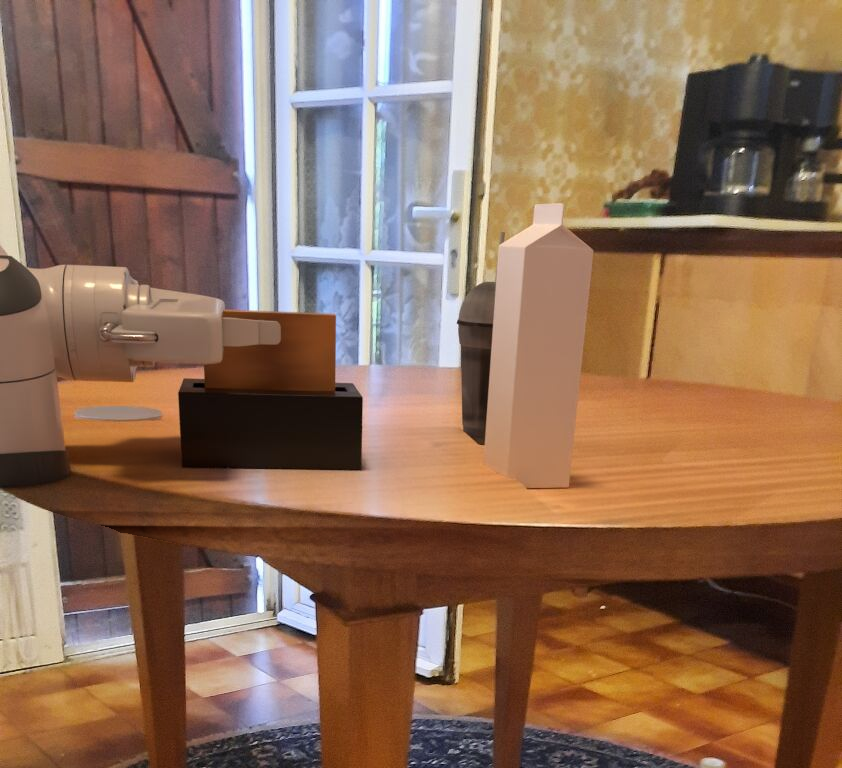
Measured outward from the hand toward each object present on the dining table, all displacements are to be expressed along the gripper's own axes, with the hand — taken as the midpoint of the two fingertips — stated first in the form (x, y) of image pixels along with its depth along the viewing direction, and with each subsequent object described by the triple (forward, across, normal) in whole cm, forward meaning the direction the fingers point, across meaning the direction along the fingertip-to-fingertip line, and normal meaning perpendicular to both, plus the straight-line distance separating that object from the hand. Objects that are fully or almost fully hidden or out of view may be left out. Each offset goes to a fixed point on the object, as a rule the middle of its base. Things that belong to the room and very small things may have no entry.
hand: (280, 330), depth 90 cm
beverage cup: (+22, +17, +12) cm, 30 cm away
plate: (-16, +23, +12) cm, 31 cm away
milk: (+21, -3, +12) cm, 25 cm away
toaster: (-1, 0, +12) cm, 12 cm away
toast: (-1, 0, +10) cm, 11 cm away
